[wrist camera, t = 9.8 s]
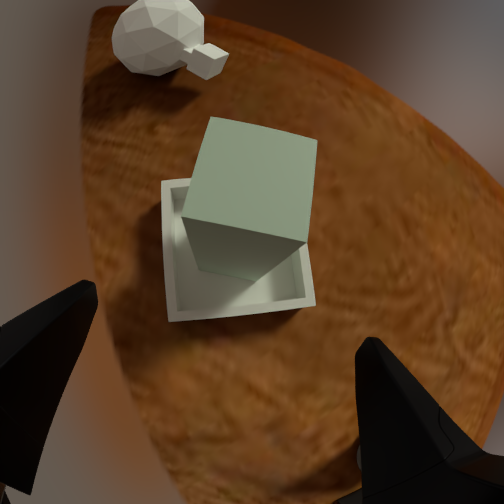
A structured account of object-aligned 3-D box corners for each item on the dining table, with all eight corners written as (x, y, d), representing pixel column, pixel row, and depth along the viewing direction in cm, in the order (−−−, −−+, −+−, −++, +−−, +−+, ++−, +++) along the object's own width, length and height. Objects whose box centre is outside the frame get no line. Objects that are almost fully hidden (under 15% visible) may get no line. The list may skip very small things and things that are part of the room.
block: (256, 281, 20) (307, 242, 9) (198, 270, 19) (180, 216, 9) (265, 226, 21) (317, 140, 10) (210, 215, 20) (211, 116, 10)
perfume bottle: (90, 70, 20) (173, 120, 22) (100, -8, 13) (205, 29, 14) (148, 44, 25) (226, 87, 26) (167, -20, 17) (262, 18, 19)
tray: (303, 306, 20) (315, 305, 18) (174, 320, 19) (168, 321, 16) (285, 188, 22) (294, 172, 20) (166, 196, 21) (161, 180, 18)
